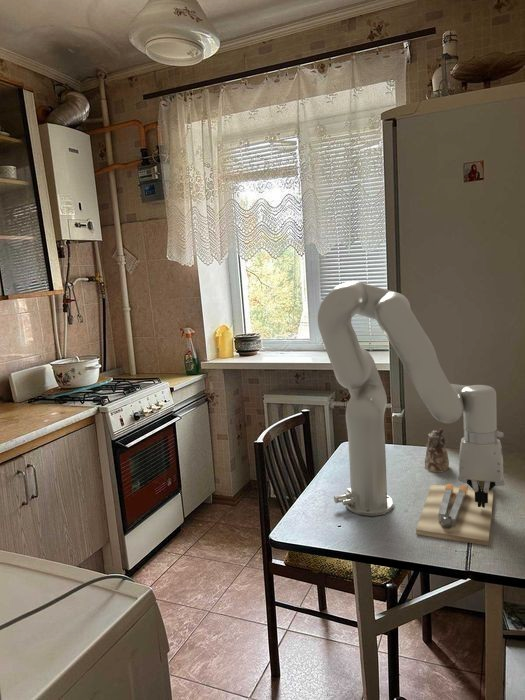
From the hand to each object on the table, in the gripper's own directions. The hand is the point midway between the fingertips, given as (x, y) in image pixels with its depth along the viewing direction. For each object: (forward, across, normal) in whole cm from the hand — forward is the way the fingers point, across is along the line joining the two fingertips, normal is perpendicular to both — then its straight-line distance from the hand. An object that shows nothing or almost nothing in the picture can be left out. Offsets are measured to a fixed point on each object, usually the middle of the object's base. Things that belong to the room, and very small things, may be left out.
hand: (481, 504), depth 132 cm
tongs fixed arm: (+1, +8, +1) cm, 9 cm away
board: (+2, +6, +2) cm, 6 cm away
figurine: (+3, +14, -27) cm, 30 cm away
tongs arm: (+1, +6, +2) cm, 7 cm away
